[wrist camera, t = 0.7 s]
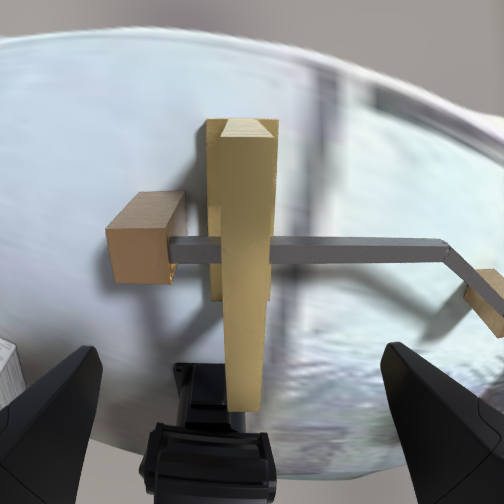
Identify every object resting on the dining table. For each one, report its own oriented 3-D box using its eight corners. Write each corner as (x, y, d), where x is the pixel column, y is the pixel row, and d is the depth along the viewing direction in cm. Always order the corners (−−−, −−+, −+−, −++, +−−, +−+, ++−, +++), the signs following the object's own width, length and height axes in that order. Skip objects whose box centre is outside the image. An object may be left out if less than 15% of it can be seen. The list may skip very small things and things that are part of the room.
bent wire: (484, 295, 25) (517, 333, 20) (154, 307, 23) (136, 364, 18) (512, 208, 21) (557, 237, 16) (139, 192, 19) (105, 229, 14)
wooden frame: (268, 291, 23) (285, 410, 14) (212, 291, 23) (201, 411, 14) (276, 118, 18) (318, 139, 9) (208, 117, 18) (175, 138, 8)
